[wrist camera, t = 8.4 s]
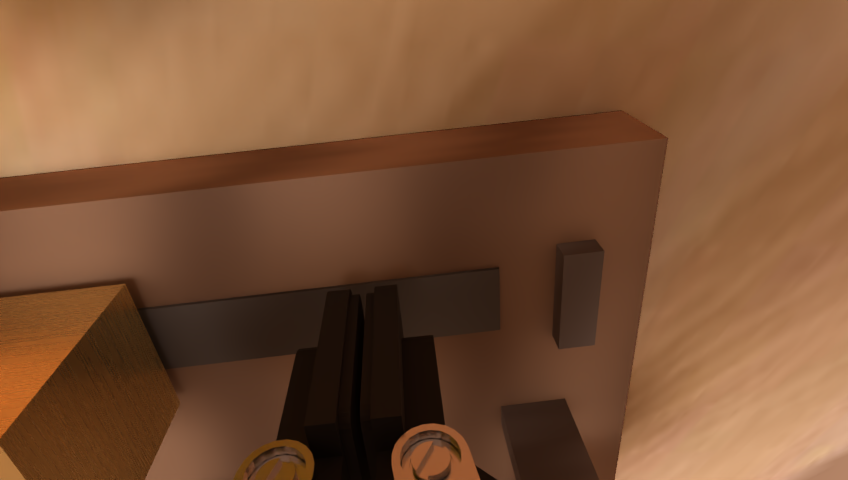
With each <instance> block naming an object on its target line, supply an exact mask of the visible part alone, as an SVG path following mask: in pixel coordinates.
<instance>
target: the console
mask: <svg viewBox="0 0 848 480" xmlns="http://www.w3.org/2000/svg"><path fill="white" fill-rule="evenodd" d="M667 141H668V138H667V137H666V136H664V135H662V134H661V133H659V132H657V131H655V130H654V129H652V128H650V127H649V126H647V125H645V124H644V123H642V122H640V121H639V120H637V119H635V118H634V117H632V116H630V115H629V114H627V113H625V112H624V111H614V112H605V113H596V114H586V115H577V116H568V117H559V118H550V119H540V120H531V121H522V122H513V123H503V124H494V125H485V126H476V127H467V128H457V129H448V130H439V131H430V132H421V133H411V134H402V135H393V136H384V137H374V138H365V139H356V140H347V141H338V142H328V143H319V144H310V145H301V146H292V147H282V148H273V149H264V150H255V151H246V152H236V153H227V154H218V155H209V156H199V157H190V158H181V159H172V160H163V161H153V162H144V163H135V164H126V165H117V166H107V167H98V168H89V169H80V170H70V171H61V172H52V173H43V174H34V175H24V176H15V177H6V178H0V298H4V297H13V296H22V295H31V294H39V293H48V292H57V291H66V290H74V289H83V288H92V287H101V286H110V285H118V284H126V286H127V288H128V290H129V293H130V295H131V297H132V299H133V301H134V303H135V306H136V308H137V310H138V312H139V314H140V316H141V319H142V321H143V323H144V325H145V327H146V330H147V332H148V334H149V336H150V338H151V340H152V343H153V345H154V347H155V349H156V351H157V353H158V356H159V358H160V360H161V362H162V364H163V366H164V369H165V371H166V373H167V375H168V377H169V380H170V382H171V384H172V386H173V388H174V390H175V393H176V395H177V397H178V399H179V401H180V405H179V407H178V409H177V411H176V413H175V416H174V418H173V420H172V422H171V424H170V426H169V429H168V431H167V433H166V435H165V437H164V439H163V442H162V444H161V446H160V448H159V450H158V452H157V454H156V457H155V459H154V461H153V463H152V465H151V467H150V470H149V472H148V474H147V476H146V478H145V480H233V479H234V477H235V474H236V472H237V470H238V469H239V467H240V466H241V464H242V462H243V461H244V460H245V459H246V458H247V457H248V456H249V455H250V454H251V453H252V452H253V451H255V450H257V449H258V448H260V447H261V446H263V445H265V444H268V443H271V442H273V441H276V439H277V435H278V430H279V426H280V421H281V417H282V413H283V408H284V404H285V399H286V395H287V391H288V386H289V382H290V377H291V373H292V369H293V364H294V360H295V356H296V353H297V351H298V349H303V348H312V347H317V346H318V341H319V335H320V329H321V324H322V318H323V312H324V307H325V301H326V295H327V292H328V291H336V290H346V289H351V291H352V295H355V294H360V296H361V301H362V307H363V313H364V319H365V306H366V294H367V293H374V288H375V286H385V285H394V284H397V287H398V295H399V303H400V311H401V319H402V327H403V335H404V338H407V337H417V336H426V335H433V337H434V344H435V352H436V359H437V367H438V375H439V382H440V390H441V397H442V405H443V413H444V420H445V425H446V426H448V427H450V428H452V429H454V430H456V431H457V432H458V433H459V434H460V435H461V436H462V437H463V438H464V439H465V441H466V443H467V445H468V447H469V449H470V452H471V455H472V458H473V461H474V463H475V465H476V466H477V467H479V468H480V469H482V470H483V471H485V472H486V473H488V474H489V475H491V476H492V477H494V478H495V479H497V480H615V474H616V467H617V461H618V455H619V448H620V442H621V435H622V429H623V422H624V416H625V410H626V403H627V397H628V390H629V384H630V378H631V371H632V365H633V358H634V352H635V346H636V339H637V333H638V326H639V320H640V314H641V307H642V301H643V294H644V288H645V282H646V275H647V269H648V262H649V256H650V250H651V243H652V237H653V230H654V224H655V217H656V211H657V205H658V198H659V192H660V185H661V179H662V173H663V166H664V160H665V153H666V147H667Z"/></svg>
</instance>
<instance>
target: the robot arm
mask: <svg viewBox="0 0 848 480" xmlns="http://www.w3.org/2000/svg"><path fill="white" fill-rule="evenodd" d="M233 480H497V479H495V478H494V477H492V476H491V475H489V474H488V473H486V472H485V471H483V470H482V469H480V468H479V467H477V466H476V465H475V463H474V461H473V458H472V455H471V452H470V449H469V447H468V445H467V443H466V441H465V439H464V438H463V437H462V436H461V435H460V434H459V433H458V432H457V431H456V430H454V429H452V428H450V427H448V426H446V425H445V420H444V413H443V405H442V397H441V390H440V382H439V375H438V367H437V359H436V352H435V344H434V337H433V335H426V336H417V337H407V338H404V335H403V327H402V319H401V311H400V303H399V295H398V287H397V284H394V285H385V286H375V288H374V293H367V294H366V306H365V319H364V313H363V307H362V301H361V296H360V294H355V295H352V291H351V289H346V290H336V291H328V292H327V295H326V301H325V307H324V312H323V318H322V324H321V329H320V335H319V341H318V346H317V347H312V348H303V349H298V351H297V353H296V356H295V360H294V364H293V369H292V373H291V377H290V382H289V386H288V391H287V395H286V399H285V404H284V408H283V413H282V417H281V421H280V426H279V430H278V435H277V439H276V441H273V442H271V443H268V444H265V445H263V446H261V447H260V448H258V449H257V450H255V451H253V452H252V453H251V454H250V455H249V456H248V457H247V458H246V459H245V460H244V461H243V462H242V464H241V466H240V467H239V469H238V470H237V472H236V474H235V477H234V479H233Z"/></svg>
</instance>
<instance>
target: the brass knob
mask: <svg viewBox="0 0 848 480" xmlns="http://www.w3.org/2000/svg"><path fill="white" fill-rule="evenodd" d="M179 405H180V401H179V399H178V397H177V395H176V393H175V390H174V388H173V386H172V384H171V382H170V380H169V377H168V375H167V373H166V371H165V369H164V366H163V364H162V362H161V360H160V358H159V356H158V353H157V351H156V349H155V347H154V345H153V343H152V340H151V338H150V336H149V334H148V332H147V330H146V327H145V325H144V323H143V321H142V319H141V316H140V314H139V312H138V310H137V308H136V306H135V303H134V301H133V299H132V297H131V295H130V293H129V290H128V288H127V286H126V284H118V285H110V286H101V287H92V288H83V289H74V290H66V291H57V292H48V293H39V294H31V295H22V296H13V297H4V298H0V480H145V478H146V476H147V474H148V472H149V470H150V467H151V465H152V463H153V461H154V459H155V457H156V454H157V452H158V450H159V448H160V446H161V444H162V442H163V439H164V437H165V435H166V433H167V431H168V429H169V426H170V424H171V422H172V420H173V418H174V416H175V413H176V411H177V409H178V407H179Z"/></svg>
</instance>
